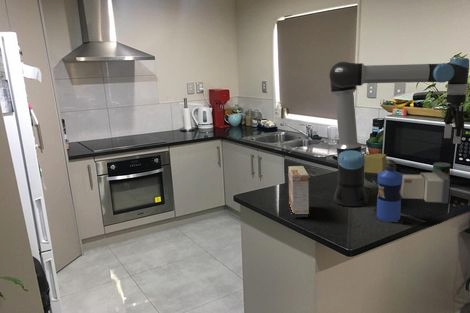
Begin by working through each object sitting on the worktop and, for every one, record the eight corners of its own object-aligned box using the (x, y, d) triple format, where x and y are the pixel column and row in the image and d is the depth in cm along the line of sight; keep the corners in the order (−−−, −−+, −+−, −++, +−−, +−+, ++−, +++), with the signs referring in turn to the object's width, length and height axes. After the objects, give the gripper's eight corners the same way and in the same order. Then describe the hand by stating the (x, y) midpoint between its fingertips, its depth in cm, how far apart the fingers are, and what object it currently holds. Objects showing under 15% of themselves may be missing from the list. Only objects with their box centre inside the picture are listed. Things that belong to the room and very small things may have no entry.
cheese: (368, 168, 229) (369, 152, 227) (386, 170, 223) (387, 154, 221) (363, 172, 221) (363, 156, 219) (382, 174, 215) (382, 157, 212)
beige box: (402, 198, 175) (403, 177, 172) (400, 194, 180) (401, 174, 178) (423, 198, 172) (424, 178, 170) (420, 194, 178) (421, 174, 176)
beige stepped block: (426, 202, 168) (428, 179, 165) (418, 191, 183) (420, 169, 181) (448, 203, 165) (450, 179, 163) (438, 191, 181) (440, 169, 178)
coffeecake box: (288, 206, 172) (287, 166, 168) (304, 205, 172) (303, 165, 168) (292, 219, 158) (291, 175, 153) (309, 218, 157) (309, 174, 153)
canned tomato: (445, 188, 186) (447, 167, 183) (429, 185, 191) (430, 164, 189) (451, 184, 191) (453, 163, 188) (435, 181, 196) (436, 161, 194)
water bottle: (394, 213, 157) (397, 156, 152) (404, 222, 148) (407, 162, 143) (372, 214, 157) (374, 158, 152) (381, 223, 148) (383, 163, 143)
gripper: (476, 95, 152) (470, 146, 156) (456, 91, 175) (452, 135, 180) (456, 96, 153) (451, 146, 158) (439, 92, 177) (435, 135, 182)
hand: (451, 140), depth 169 cm, fingers open, 13 cm apart
